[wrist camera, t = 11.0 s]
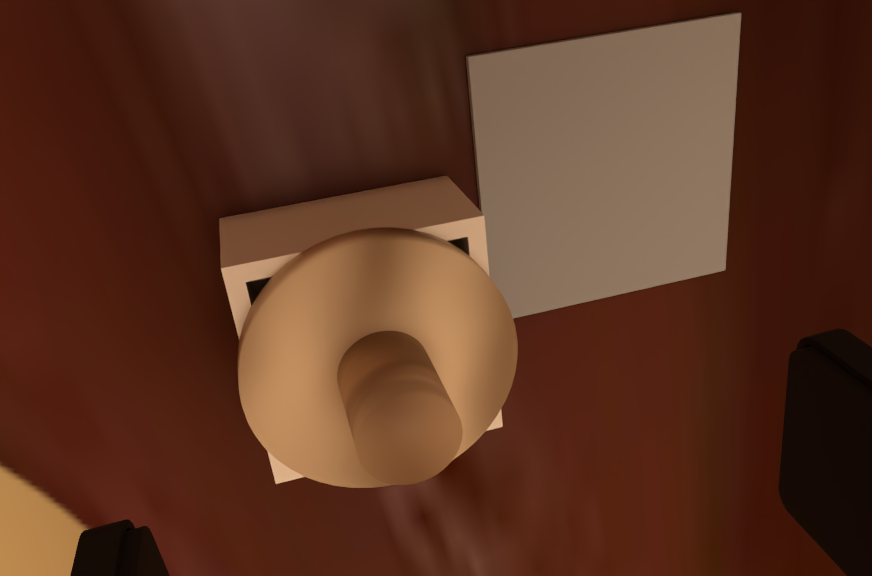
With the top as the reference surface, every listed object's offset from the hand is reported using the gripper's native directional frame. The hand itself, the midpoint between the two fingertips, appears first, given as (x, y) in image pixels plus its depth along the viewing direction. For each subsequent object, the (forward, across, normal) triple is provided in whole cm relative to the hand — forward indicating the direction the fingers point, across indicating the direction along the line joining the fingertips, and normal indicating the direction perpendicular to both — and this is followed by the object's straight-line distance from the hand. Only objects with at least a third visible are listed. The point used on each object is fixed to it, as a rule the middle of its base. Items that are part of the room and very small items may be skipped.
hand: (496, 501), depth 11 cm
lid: (+21, 0, +10) cm, 24 cm away
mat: (+28, -14, +7) cm, 32 cm away
